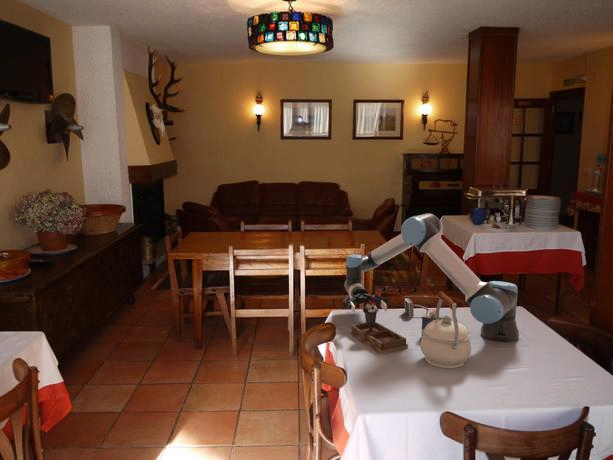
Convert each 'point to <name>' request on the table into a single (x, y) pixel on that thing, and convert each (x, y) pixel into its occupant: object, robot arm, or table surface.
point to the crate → (379, 338)
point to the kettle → (445, 339)
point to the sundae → (370, 315)
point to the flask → (428, 319)
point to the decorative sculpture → (409, 308)
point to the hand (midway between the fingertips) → (370, 308)
